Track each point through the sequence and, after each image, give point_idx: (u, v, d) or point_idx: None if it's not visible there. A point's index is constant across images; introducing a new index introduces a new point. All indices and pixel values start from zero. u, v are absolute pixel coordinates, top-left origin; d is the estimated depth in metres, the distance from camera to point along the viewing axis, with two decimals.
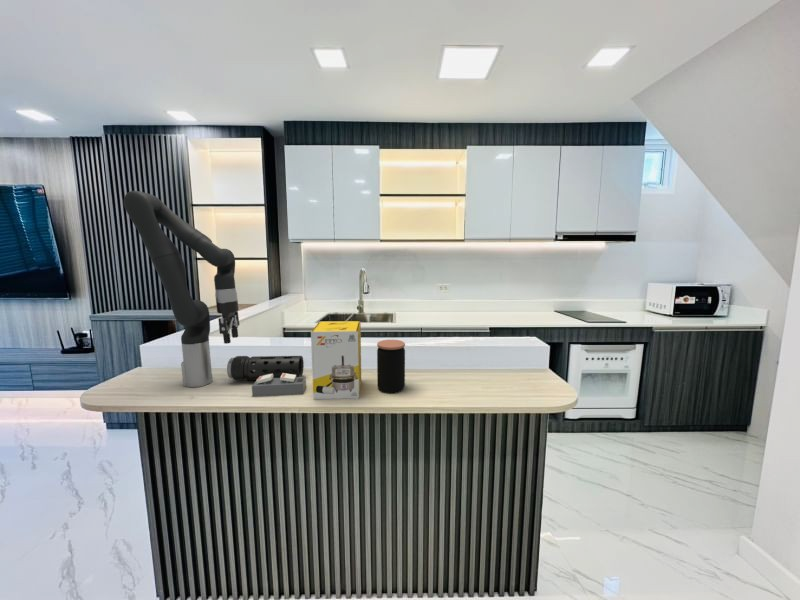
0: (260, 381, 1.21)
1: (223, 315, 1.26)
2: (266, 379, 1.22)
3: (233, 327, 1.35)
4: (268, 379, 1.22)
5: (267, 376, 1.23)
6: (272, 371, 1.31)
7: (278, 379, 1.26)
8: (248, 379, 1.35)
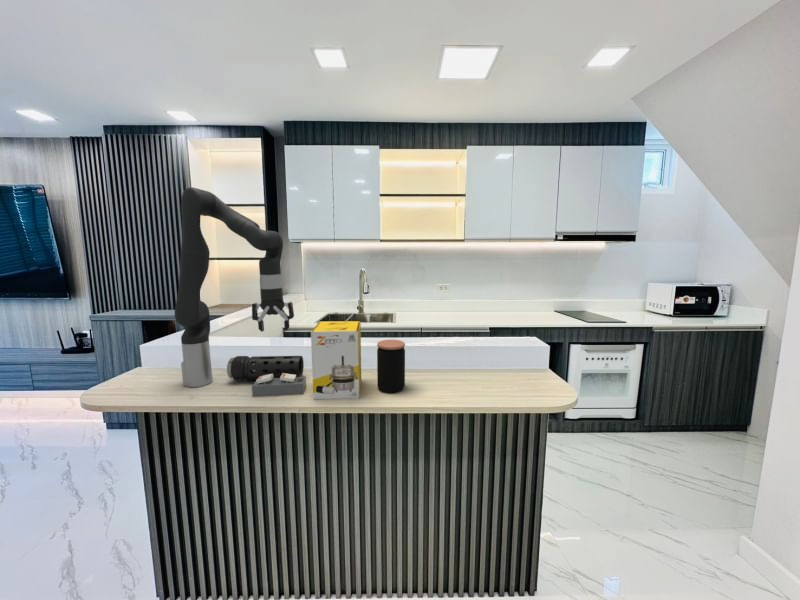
0: (260, 381, 1.21)
1: (282, 301, 1.20)
2: (266, 379, 1.22)
3: (261, 319, 1.20)
4: (268, 379, 1.22)
5: (267, 376, 1.23)
6: (272, 371, 1.31)
7: (278, 379, 1.26)
8: (248, 379, 1.35)
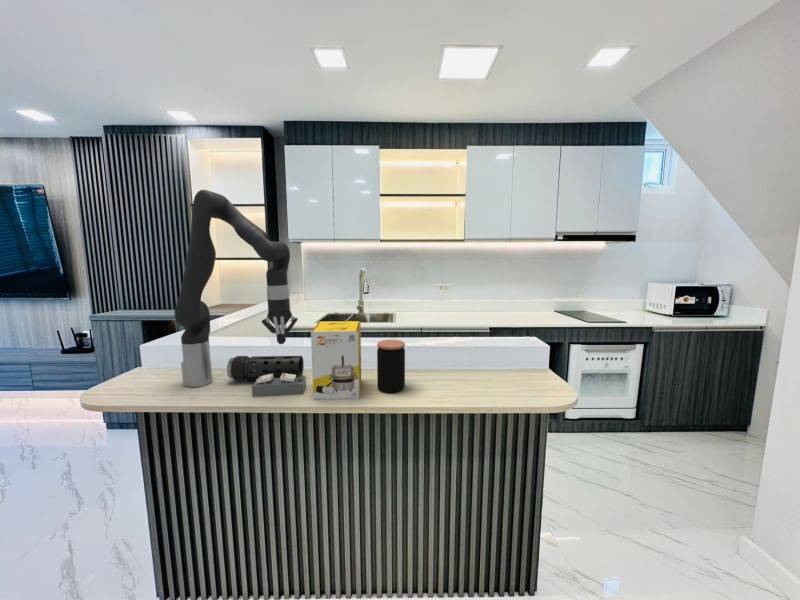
0: (260, 381, 1.21)
1: (289, 311, 1.21)
2: (266, 379, 1.22)
3: (280, 332, 1.22)
4: (268, 379, 1.22)
5: (267, 376, 1.23)
6: (272, 371, 1.31)
7: (278, 379, 1.26)
8: (248, 379, 1.35)
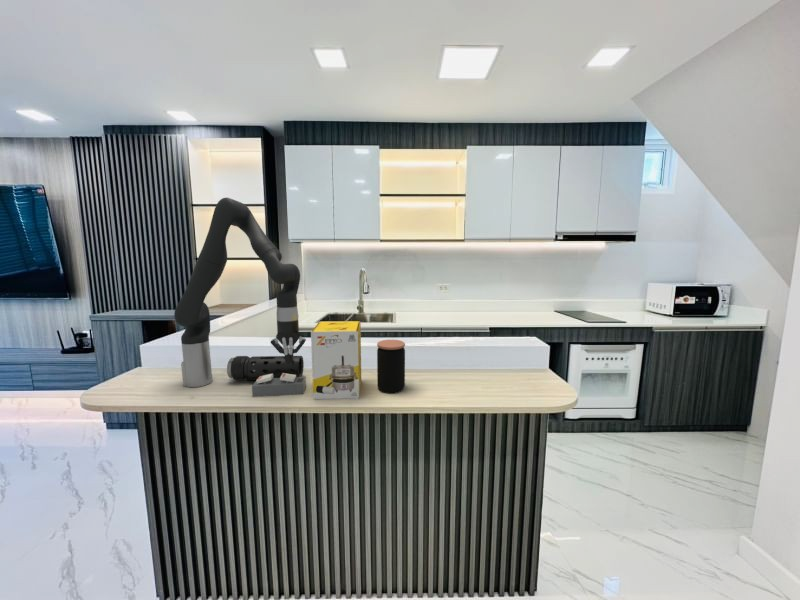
0: (260, 381, 1.21)
1: (298, 332, 1.22)
2: (266, 379, 1.22)
3: (288, 353, 1.23)
4: (268, 379, 1.22)
5: (267, 376, 1.23)
6: (272, 371, 1.31)
7: (278, 379, 1.26)
8: (248, 379, 1.35)
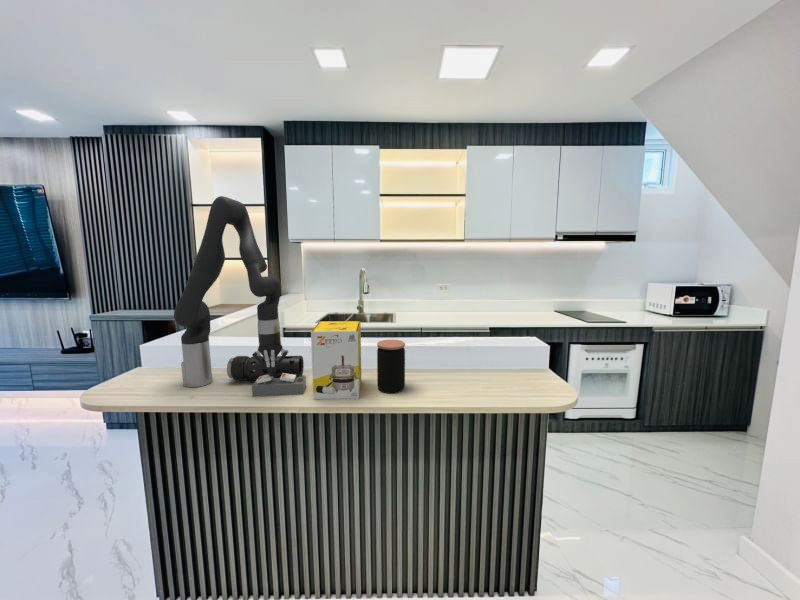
0: (260, 381, 1.21)
1: (280, 344, 1.22)
2: (266, 379, 1.22)
3: (270, 365, 1.23)
4: (268, 379, 1.22)
5: (267, 376, 1.23)
6: None
7: (278, 379, 1.26)
8: (248, 379, 1.35)
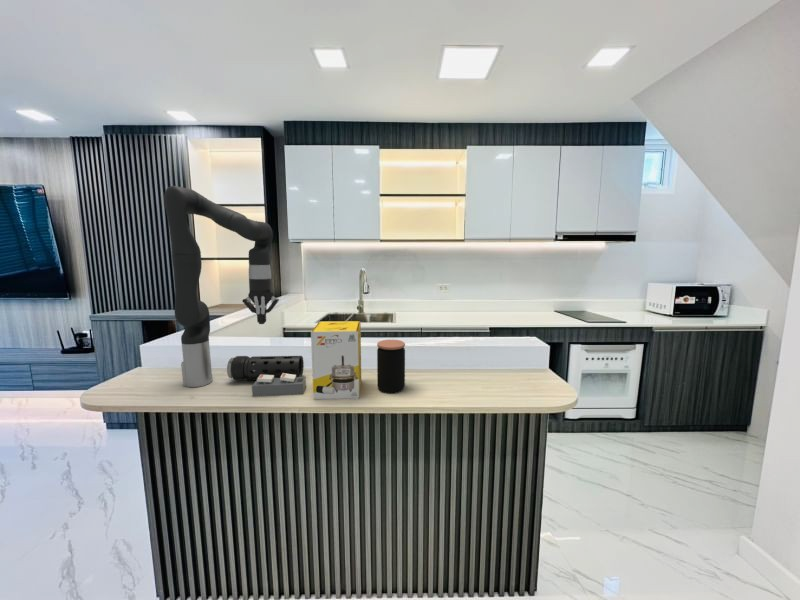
0: (261, 380, 1.21)
1: (270, 292, 1.21)
2: (267, 380, 1.22)
3: None
4: (269, 380, 1.22)
5: (268, 377, 1.23)
6: (272, 371, 1.31)
7: (278, 379, 1.26)
8: (248, 379, 1.35)
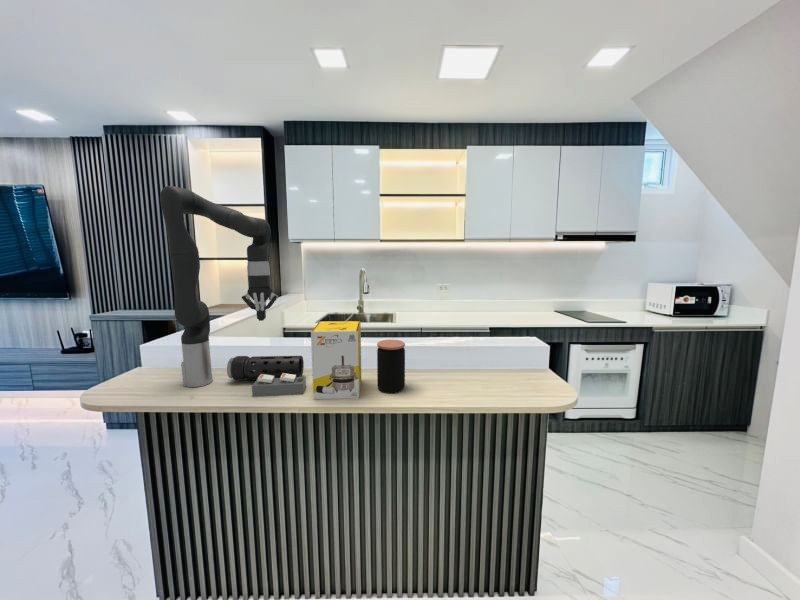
0: (261, 380, 1.21)
1: (269, 288, 1.21)
2: (267, 380, 1.22)
3: (260, 309, 1.22)
4: (269, 381, 1.22)
5: (269, 377, 1.23)
6: (272, 371, 1.31)
7: (278, 379, 1.26)
8: (248, 379, 1.35)
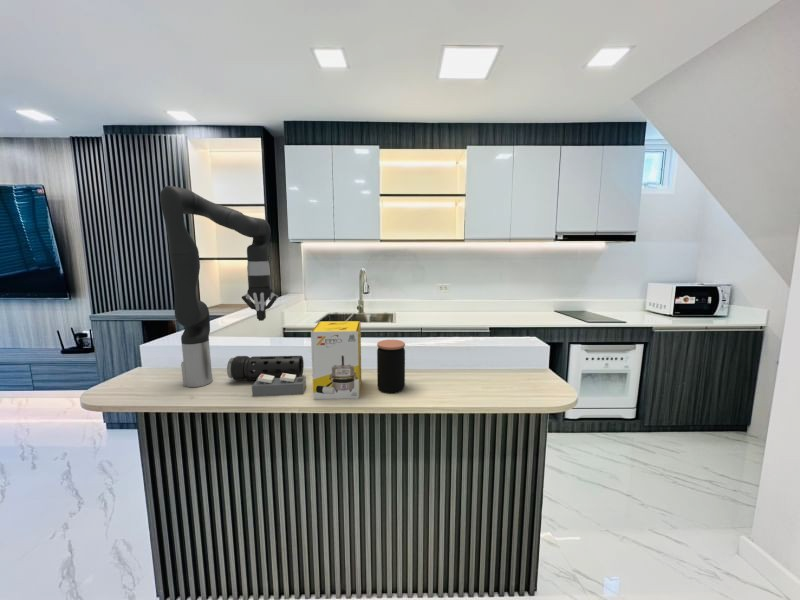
0: (261, 380, 1.21)
1: (269, 288, 1.21)
2: (267, 380, 1.22)
3: (260, 309, 1.22)
4: (269, 381, 1.22)
5: (269, 377, 1.23)
6: (272, 371, 1.31)
7: (278, 379, 1.26)
8: (248, 379, 1.35)
